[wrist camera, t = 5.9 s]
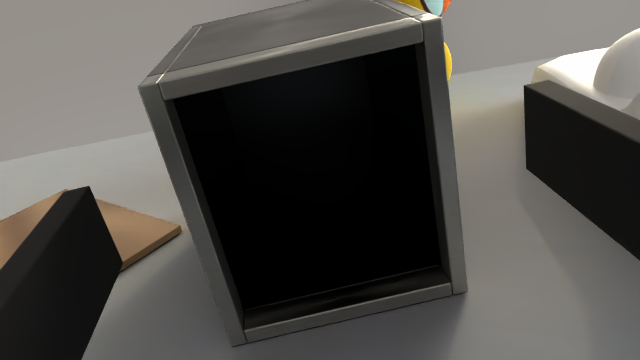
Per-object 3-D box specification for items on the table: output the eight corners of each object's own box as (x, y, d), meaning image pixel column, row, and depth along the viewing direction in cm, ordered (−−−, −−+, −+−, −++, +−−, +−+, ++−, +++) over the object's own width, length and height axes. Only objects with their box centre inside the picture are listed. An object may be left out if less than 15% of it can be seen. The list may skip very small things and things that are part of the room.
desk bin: (468, 292, 19) (442, 16, 15) (231, 347, 19) (136, 86, 14) (388, 160, 31) (361, -13, 26) (243, 194, 30) (192, 25, 26)
